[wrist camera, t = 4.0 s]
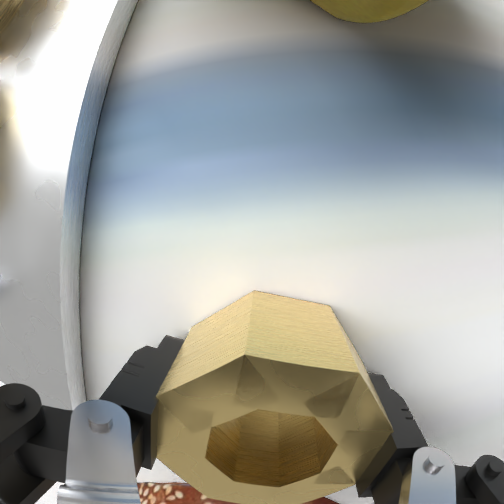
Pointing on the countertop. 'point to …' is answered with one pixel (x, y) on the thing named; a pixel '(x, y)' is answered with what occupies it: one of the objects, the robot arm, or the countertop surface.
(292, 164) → the countertop surface
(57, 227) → the carrier
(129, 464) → the robot arm
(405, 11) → the flower pot
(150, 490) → the slice of bread
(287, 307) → the gold octagonal ring
